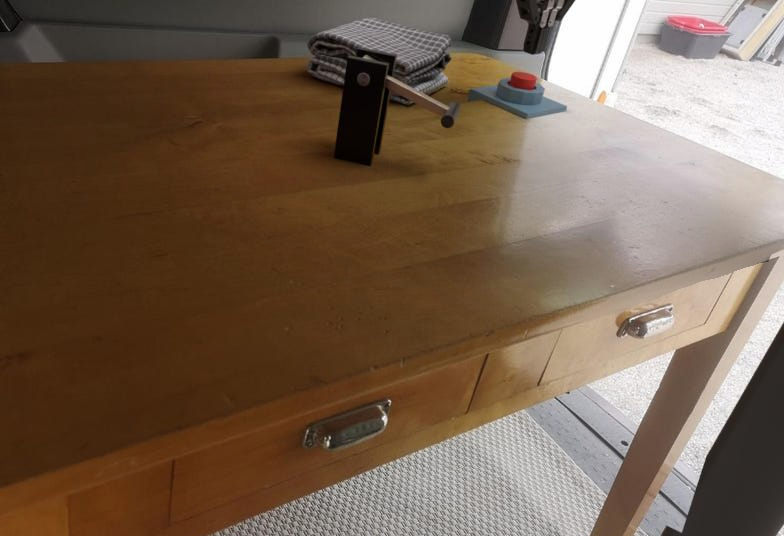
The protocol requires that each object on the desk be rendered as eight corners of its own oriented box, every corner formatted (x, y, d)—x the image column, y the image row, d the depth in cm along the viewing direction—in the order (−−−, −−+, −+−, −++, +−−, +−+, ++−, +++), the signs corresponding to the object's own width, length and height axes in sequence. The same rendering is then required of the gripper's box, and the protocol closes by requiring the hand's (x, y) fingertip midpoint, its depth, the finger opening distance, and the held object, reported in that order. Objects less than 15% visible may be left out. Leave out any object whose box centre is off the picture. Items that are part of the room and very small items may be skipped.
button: (538, 90, 111) (542, 78, 110) (522, 93, 109) (526, 80, 108) (519, 82, 113) (522, 70, 112) (503, 85, 111) (506, 72, 110)
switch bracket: (412, 164, 92) (434, 56, 85) (396, 192, 85) (418, 77, 78) (318, 142, 95) (331, 36, 87) (295, 168, 88) (307, 54, 80)
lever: (455, 120, 86) (465, 101, 85) (448, 134, 82) (458, 114, 81) (360, 70, 86) (369, 51, 85) (348, 82, 82) (357, 62, 81)
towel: (351, 59, 126) (358, 9, 122) (452, 88, 119) (463, 36, 114) (301, 77, 116) (306, 23, 111) (407, 111, 108) (418, 54, 104)
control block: (563, 120, 112) (571, 93, 110) (523, 129, 107) (531, 101, 105) (506, 96, 119) (513, 70, 117) (466, 103, 114) (473, 76, 112)
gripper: (560, -81, 92) (522, 64, 102) (623, -80, 99) (581, 56, 109) (512, -92, 97) (480, 49, 107) (576, -89, 104) (540, 42, 114)
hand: (531, 52), depth 108 cm, fingers closed
